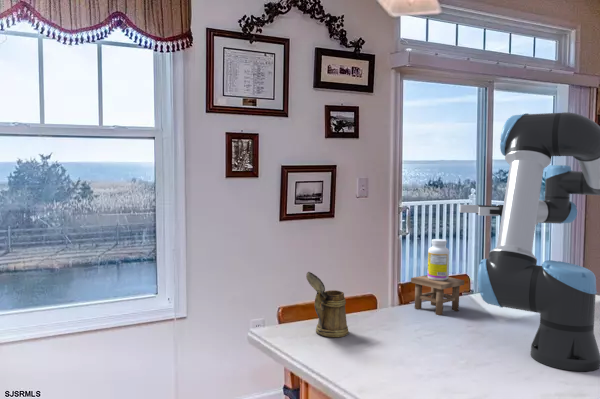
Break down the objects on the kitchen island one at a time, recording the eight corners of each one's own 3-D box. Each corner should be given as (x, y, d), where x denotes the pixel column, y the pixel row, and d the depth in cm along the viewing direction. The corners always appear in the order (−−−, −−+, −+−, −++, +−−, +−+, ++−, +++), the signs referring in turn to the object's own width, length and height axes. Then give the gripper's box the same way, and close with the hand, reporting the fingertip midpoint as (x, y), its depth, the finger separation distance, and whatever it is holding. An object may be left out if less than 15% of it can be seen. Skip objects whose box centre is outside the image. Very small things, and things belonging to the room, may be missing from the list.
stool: (440, 316, 163) (441, 284, 163) (410, 307, 173) (411, 277, 172) (463, 310, 171) (464, 280, 170) (433, 302, 180) (434, 273, 180)
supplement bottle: (432, 276, 176) (434, 237, 175) (451, 279, 172) (453, 240, 171) (423, 279, 171) (425, 239, 170) (442, 282, 167) (444, 242, 166)
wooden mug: (296, 334, 143) (297, 268, 142) (333, 326, 151) (335, 264, 150) (317, 343, 136) (318, 274, 135) (355, 334, 144) (357, 269, 143)
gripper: (551, 226, 163) (487, 224, 159) (508, 219, 187) (452, 218, 184) (553, 202, 162) (488, 200, 159) (509, 198, 187) (453, 196, 184)
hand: (468, 209), depth 172 cm, fingers open, 13 cm apart
